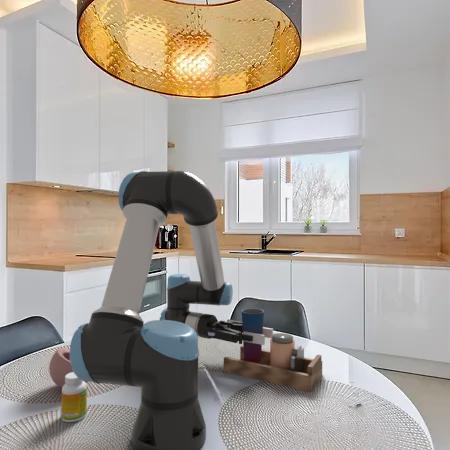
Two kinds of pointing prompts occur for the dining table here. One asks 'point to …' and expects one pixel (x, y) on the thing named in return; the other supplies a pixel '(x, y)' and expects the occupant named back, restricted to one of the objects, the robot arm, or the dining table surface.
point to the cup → (253, 324)
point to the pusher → (298, 359)
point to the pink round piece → (60, 366)
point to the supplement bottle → (74, 398)
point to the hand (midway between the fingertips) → (268, 336)
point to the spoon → (359, 407)
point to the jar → (281, 350)
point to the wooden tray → (276, 371)
